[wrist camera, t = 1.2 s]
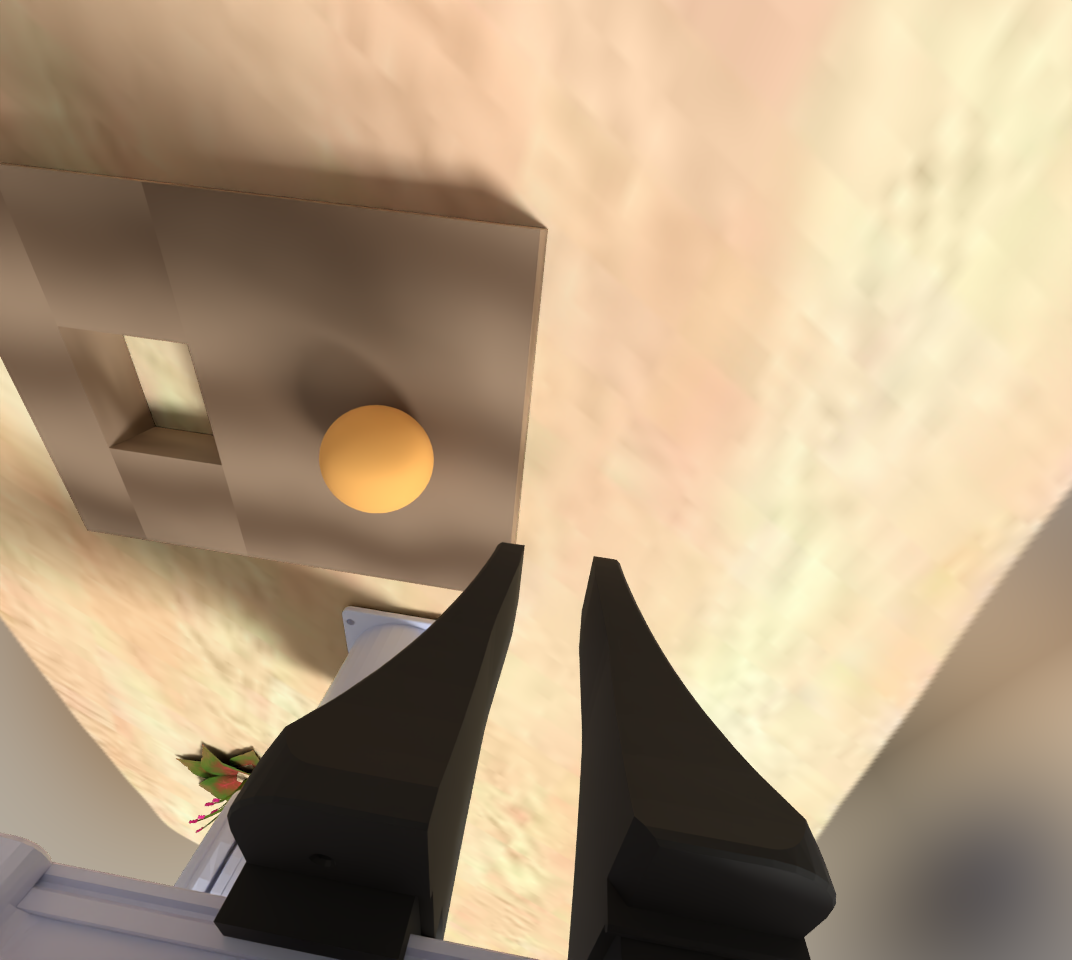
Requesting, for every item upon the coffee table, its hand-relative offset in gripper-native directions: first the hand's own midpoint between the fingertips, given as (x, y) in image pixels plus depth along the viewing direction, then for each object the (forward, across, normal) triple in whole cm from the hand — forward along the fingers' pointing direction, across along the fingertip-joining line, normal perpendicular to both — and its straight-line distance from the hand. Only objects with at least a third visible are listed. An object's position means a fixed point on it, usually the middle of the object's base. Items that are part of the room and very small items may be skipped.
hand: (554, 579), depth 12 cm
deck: (+9, +13, 0) cm, 16 cm away
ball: (+5, +7, 0) cm, 9 cm away
